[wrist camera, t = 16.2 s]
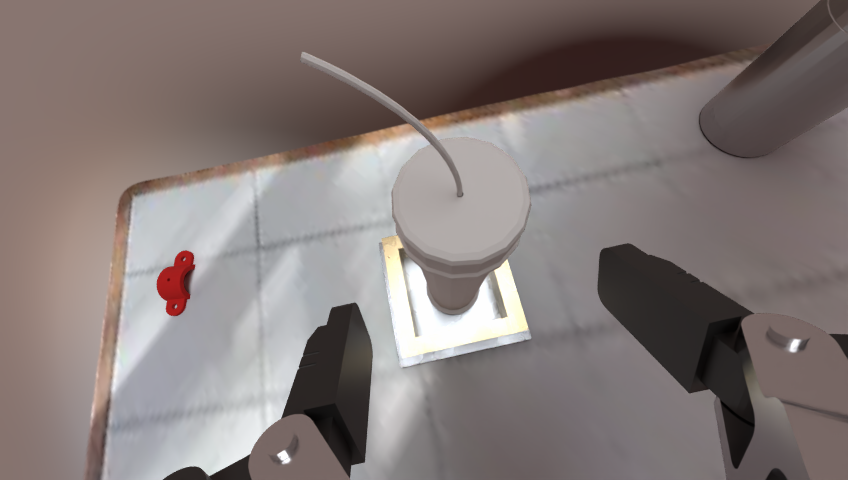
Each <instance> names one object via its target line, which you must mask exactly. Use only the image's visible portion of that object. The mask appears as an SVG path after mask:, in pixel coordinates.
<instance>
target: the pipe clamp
mask: <svg viewBox="0 0 848 480" xmlns="http://www.w3.org/2000/svg"><path fill="white" fill-rule="evenodd" d="M185 257H186V260H185V261H183V259H184V258H185ZM193 261H194V255H193V253H191V252H189V251H182V252H180V253H179V254H178V255H177V256H176V258H175V262H174V266H172V267H167V268H165V269H164V270H163V271H162V272H161V273H160V275H159V277H158V279H157V290H158V293H159V295H160V296H161V297H162V298H163V299H164V300H166V301H167V305H166V312H167V313H168V314H169V315H171V316H177V315H180V314H181V313H182V312H183V311H184V310H185V307H186V302H187V299H190V294H189V293H187V291H186V290H185V288H184V277H185V275H186V274H187V272H188V271H190V270H192V269H195V265H193ZM176 304H177V308H176V309H175V305H176Z"/></svg>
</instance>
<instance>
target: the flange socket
mask: <svg viewBox="0 0 848 480" xmlns="http://www.w3.org/2000/svg"><path fill="white" fill-rule="evenodd" d="M379 247H380V253H381V258H382V264H383V270H384V276H385V281H386V287H387V293H388V299H389V305H390V310H391V316H392V322H393V328H394V333H395V339H396V345H397V351H398V357H399V362H400V368H402V367H407V366H411V365H416V364H420V363H425V362H429V361H434V360H438V359H443V358H447V357H452V356H456V355H461V354H465V353H470V352H474V351H479V350H483V349H488V348H492V347H497V346H501V345H506V344H510V343H515V342H519V341H524V340H528V339H532V338H531V335H530V332H529V328H528V325H527V322H526V319H525V315H524V312H523V309H522V306H521V302H520V299H519V296H518V293H517V289H516V286H515V283H514V280H513V276H512V273H511V270H510V267H509V263H508V260H506V261H505V262H504V263H503V264H502V266H501V267H500V268H498V269H496V270H494V271H492V272H490V273H489V274H488V275H487V277H486V278H485V280H484V282H483V283H482V285H481V287H480V291H479V295H478V298H477V301H476V302H475V303H474V305H473V306H472V307H471V308H470V309H469V310H467V311H465V312H463V313H461V314H453V315H449V314H446V313H443V312H440V311H439V310H438V309H437V308H435V307H434V306H433V305H432V304H431V302H430V300H429V298H428V296H427V290H426V280H425V278H424V275H423V273H422V270H421V268H420V267H419V266H418V265H417V264H416V263H415V262H414V261H412V260H411V259H410V258H409V257H408V256H407V254H406V252H405V250H404V247H403V245H402V243H401V241H400V239H399V237H398V235H396V236H391V237H387V238H382V243H379Z"/></svg>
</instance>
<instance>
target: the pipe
mask: <svg viewBox="0 0 848 480" xmlns="http://www.w3.org/2000/svg"><path fill="white" fill-rule="evenodd" d="M300 62H302V63H304V64H306V65H309V66H311V67H313V68H315V69H318V70H320V71H322V72H325V73H327V74H329V75H331V76H333V77H335V78H337V79H339V80H341V81H343V82H345V83H347V84H349V85H350V86H352V87H354V88H356V89H358V90H359V91H361V92H363V93H365V94H367V95H368V96H370V97H372V98H374V99H375V100H377V101H378V102H380V103H381V104H383V105H384V106H386V107H387V108H389V109H390V110H392V111H394V112H395V113H396V114H398V115H399V116H400V117H401V118H403V119H404V120H405V121H407V122H408V123H409V124H410V125H412V126H413V127H414V128H415V129H416V130H417V131H418V132H420V133H421V134H422V135H423V136H424V137H425V138H426V139H427V140H428V141H429V142H430V143H431V144H430V145H428V146H426V147H424V148H422V149H420V150H418V151H417V152H416V153H415V154H414V155H413V156H412V157H411V158H410V159H409V160H408V161H407V162H406V164H405V165H404V166H403V167H402V168H401V170H400V172H399V175H398V177H397V180H396V182H395V185H394V187H393V190H392V217H393V219H394V221H395V223H396V233H397V235H398V237H399V239H400V241H401V243H402V245H403V247H404V250H405V252H406V254H407V256H408V257H409V258H410V259H411V260H412V261H414V262H415V263H416V264H417V265H418V266H419V267H420V268H421V270H422V273H423V275H424V278H425V280H426V290H427V296H428V298H429V300H430V302H431V304H432V305H433V306H434V307H435V308H437V309H438V310H439V311H440V312H443V313H446V314H449V315H453V314H461V313H463V312H465V311H467V310H469V309H470V308H471V307H472V306H473V305H474V303H475V302H476V301H477V298H478V295H479V291H480V287H481V285H482V283H483V282H484V280H485V278H486V277H487V275H488V274H489V273H490V272H492V271H494V270H496V269H498V268H500V267H501V266H502V264H503V263H504V262H505V261H506V260H507V258H508V257H509V256H510V255H511V254H512V252H513V251H514V250H515V249H516V247H517V246H518V244H519V241H520V237H521V235H522V233H523V232H524V230H525V227H526V223H527V219H528V216H529V212H530V208H531V200H530V194H529V188H528V183H527V179H526V177H525V175H524V174H523V172H522V171H521V169H520V168H519V166H518V165H517V163H516V162H515V160H514V159H513V157H511V156H510V155H509V154H507V153H506V152H504V151H503V150H501V149H500V148H498V147H497V146H495V145H494V144H492V143H490V142H486V141H481V140H477V139H473V138H469V137H460V138H450V139H441V140H439V141H438V140H437V139H436V138H435V136H434V135H433V134H432V133H431V132H430V131H429V130H428V129H427V128H426V127H425V126H424V125H423V124H422V123H421V122H420V121H419V120H418V119H416V118H415V117H414V116H412V115H411V114H410V113H409V112H408V111H406V110H405V109H404V108H403V107H401V106H400V105H399V104H397V103H396V102H394V101H393V100H391V99H390V98H389V97H387V96H386V95H384V94H383V93H381V92H380V91H378V90H377V89H375V88H373V87H371V86H370V85H368V84H366V83H365V82H363V81H361V80H360V79H358V78H356V77H354V76H353V75H351V74H349V73H347V72H345V71H343V70H341V69H339V68H337V67H335V66H333V65H331V64H329V63H327V62H325V61H323V60H321V59H318V58H316V57H314V56H312V55H310V54H307V53H305V52H302V55H301V60H300Z"/></svg>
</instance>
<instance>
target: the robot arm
mask: <svg viewBox="0 0 848 480" xmlns="http://www.w3.org/2000/svg"><path fill="white" fill-rule="evenodd" d="M847 107H848V0H820V1H819V2H818V3H817V4H816V5H815V6H813V7H812V8H811V9H810V10H809V11H808V12H807V13H806V14H805V15H804V16H803V17H801V18H800V19H799V20H798V21H797V22H796V23H795V24H794V25H793V26H792V27H790V28H789V29H788V30H787V31H786V32H785V33H784V34H783V35H782V36H781V37H779V38H778V39H777V40H776V41H775V42H774V43H773V44H772V45H771V46H770V47H769V48H767V49H766V50H765V51H764V52H763V53H762V54H761V55H760V56H759V57H758V58H756V59H755V60H754V61H753V62H752V63H751V64H750V65H749V66H748V67H747V68H746V69H744V70H743V71H742V72H741V73H740V74H739V75H738V76H737V77H736V78H735V79H733V80H732V81H731V82H730V83H729V84H728V85H727V86H726V87H725V88H724V89H722V90H721V91H720V92H719V93H718V94H717V95H716V96H715V97H714V98H713V99H712V100H710V101H709V102H708V103H707V104H706V105H705V107H704V108H703V109H702V112H701V114H700V125H701V128H702V130H703V133H704V134H705V136H706V137H707V138H708V140H709V141H711V142H712V143H713V144H714V145H715V146H716V147H718V148H720V149H721V150H723V151H725V152H727V153H730V154H733V155H736V156H741V157H758V156H763V155H766V154H768V153H770V152H772V151H773V150H775V149H777V148H779V147H780V146H782V145H784V144H785V143H787V142H789V141H791V140H792V139H794V138H796V137H797V136H799V135H801V134H803V133H804V132H806V131H808V130H810V129H811V128H813V127H815V126H816V125H818V124H820V123H822V122H823V121H825V120H827V119H828V118H830V117H832V116H834V115H835V114H837V113H839V112H840V111H842V110H844V109H846V108H847ZM598 294H599V298H600V300H601V302H602V304H603V305H604V306H605V307H606V309H607V310H608V311H609V312H610V313H611V314H612V315H613V316H614V317H615V318H616V319H617V320H618V321H619V322H620V323H621V324H622V325H623V326H624V327H625V328H626V329H627V330H628V331H629V332H630V333H631V334H632V335H633V336H634V337H635V338H636V339H637V340H638V341H639V342H640V343H641V344H642V345H643V346H644V347H645V348H646V350H647V351H648V352H649V353H650V354H651V355H652V356H653V357H654V358H655V359H656V360H657V361H658V362H659V363H660V364H661V365H662V366H663V367H664V368H665V369H666V370H667V371H668V372H669V373H670V374H671V375H672V376H673V377H674V378H675V379H676V380H677V381H678V382H679V383H680V384H681V385H682V386H683V387H684V388H685V389H686V390H687V391H688V393H693V392H698V391H703V390H707V389H710V390H711V391H712V392H713V393H714V394H715V395H716V398H715V401H714V408H715V414H716V420H717V426H718V431H719V437H720V443H721V449H722V455H723V461H724V467H725V473H726V480H848V335H847V334H827V333H826V332H825V331H823V330H821V329H820V328H818V327H816V326H814V325H812V324H810V323H807V322H805V321H802V320H799V319H796V318H793V317H789V316H784V315H779V314H771V313H758V314H754V313H752V312H751V311H749V310H748V309H746V308H744V307H743V306H741V305H739V304H738V303H736V302H735V301H733V300H731V299H730V298H728V297H727V296H725V295H723V294H722V293H720V292H718V291H717V290H715V289H714V288H712V287H710V286H709V285H707V284H706V283H704V282H700V280H699V279H698V278H696V277H694V276H693V275H691V274H687V273H686V271H685V270H683V269H681V268H680V267H678V266H677V265H675V264H673V263H672V262H670V261H667V260H664V259H661V258H658V257H655V256H653V255H647V254H646V253H644V252H643V251H641V250H640V249H638V248H637V247H635V246H633V245H632V244H628V243H627V244H622V245H618V246H613V247H609V248H604V249H602V250H601V252H600V258H599V273H598ZM372 358H373V353H372V344H371V340H370V336H369V334H368V331H367V328H366V326H365V323H364V320H363V318H362V315H361V312H360V309H359V307H358V305H357V304H356V303H351V304H346V305H342V306H337V307H333V308H332V309H331V311H330V315H329V318H328V322H327V325H325V326H320V327H318V328H317V329H316V330H315V332H314V333H313V334H312V335H311V337H310V338H309V339H308V341H307V344H306V347H305V350H304V353H303V357H302V359H301V362H300V365H299V369H298V370H297V373H296V376H295V379H294V382H293V385H292V388H291V391H290V394H289V397H288V400H287V403H286V406H285V409H284V412H283V415H282V418H281V419H280V420H278V421H277V422H275V423H274V424H273V425H271V426H270V427H269V428H268V429H267V430H266V431H265V432H264V433H263V434H262V435H261V436H260V438H259V439H258V440H257V442H256V444H255V445H254V447H253V449H252V451H251V454H250V455H248V456H246V457H245V458H243V459H241V460H239V461H237V462H235V463H233V464H232V465H230V466H228V467H226V468H224V469H222V470H220V471H218V472H216V473H215V474H213V475H211V476H208V475H207V474H206V473H205V472H204V471H203V470H202V469H201V468H199V467H186V468H183V469H180V470H178V471H176V472H174V473H172V474H170V475H169V476H167V477H166V478H164V479H163V480H350V472H351V465H355V464H359V463H364V462H365V453H366V440H367V426H368V412H369V399H370V385H371V372H372Z"/></svg>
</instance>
